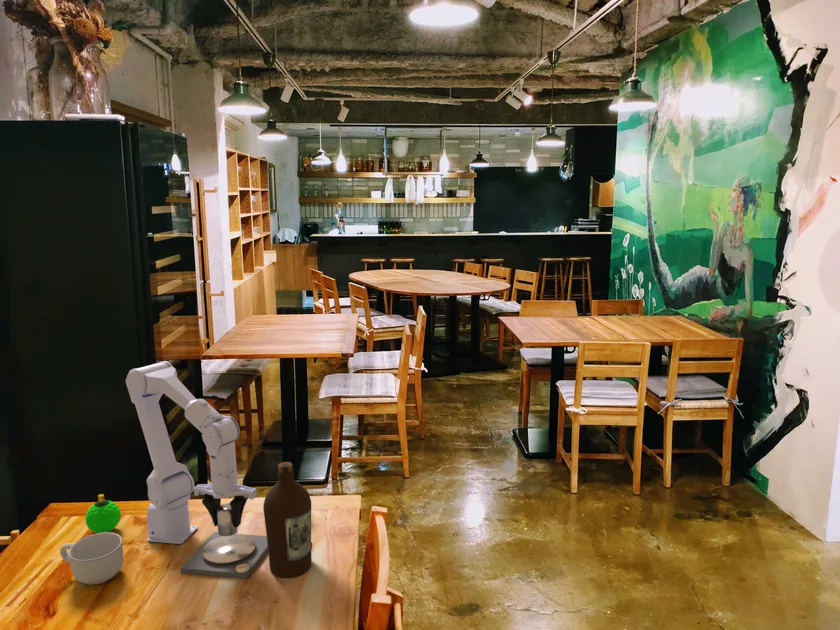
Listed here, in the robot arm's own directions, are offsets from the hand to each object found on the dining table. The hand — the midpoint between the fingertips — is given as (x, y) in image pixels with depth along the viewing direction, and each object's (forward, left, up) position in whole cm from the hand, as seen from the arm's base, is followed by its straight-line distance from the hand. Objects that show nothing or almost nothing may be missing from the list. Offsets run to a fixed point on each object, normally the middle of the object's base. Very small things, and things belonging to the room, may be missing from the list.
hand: (227, 524), depth 150 cm
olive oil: (+16, -2, -8) cm, 18 cm away
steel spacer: (0, 0, -2) cm, 2 cm away
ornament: (-37, +6, -8) cm, 38 cm away
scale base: (0, 0, -8) cm, 8 cm away
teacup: (-27, -12, -8) cm, 31 cm away
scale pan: (0, 0, -7) cm, 7 cm away
